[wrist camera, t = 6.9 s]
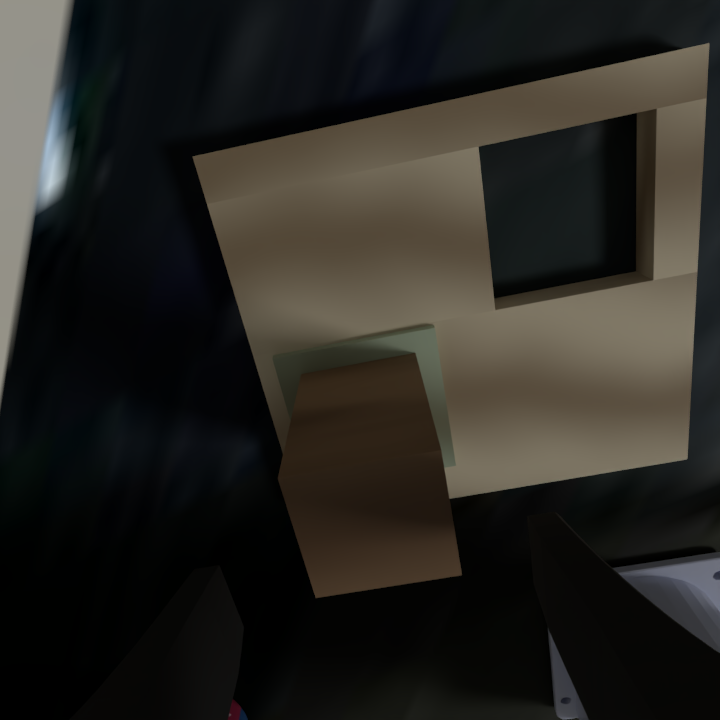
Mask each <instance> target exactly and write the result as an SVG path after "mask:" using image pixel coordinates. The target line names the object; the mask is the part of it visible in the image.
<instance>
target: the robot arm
mask: <svg viewBox="0 0 720 720" xmlns="http://www.w3.org/2000/svg"><path fill="white" fill-rule="evenodd" d="M527 521H528V531H529V542H530V552H531V563H532V573H533V584H534V587H535V590H536V593H537V596H538V599H539V603H540V606H541V609H542V612H543V615H544V618H545V621H546V624H547V627H548V636H549V648H550V660H551V672H552V684H553V696H554V708H555V711H556V714H557V716H558V717H559V718H561V719H572V718H579V720H720V552H715V553H708V554H701V555H695V556H688V557H682V558H675V559H669V560H662V561H656V562H649V563H643V564H636V565H629V566H623V567H616V568H612V567H611V566H610V565H609V564H607V563H606V562H605V561H604V560H603V559H602V558H601V557H600V556H599V555H598V554H597V553H596V552H595V551H594V550H593V549H592V548H591V547H590V546H589V545H588V544H587V543H586V542H585V541H584V540H583V539H582V538H581V537H580V536H579V535H578V534H577V533H576V532H575V531H574V530H573V529H572V528H571V527H570V526H569V525H568V524H567V523H566V522H565V521H564V520H563V519H562V517H561V516H560V515H558V514H557V513H555V512H551V513H544V514H538V515H532V516H527ZM243 631H244V626H243V624H242V621H241V619H240V616H239V613H238V611H237V608H236V606H235V603H234V601H233V598H232V596H231V593H230V591H229V588H228V586H227V583H226V581H225V578H224V576H223V573H222V571H221V568H220V565H217V566H211V567H204V568H198V569H194V571H193V572H192V573H191V574H190V575H189V577H188V578H187V579H186V581H185V582H184V583H183V584H182V586H181V587H180V588H179V590H178V591H177V592H176V594H175V595H174V596H173V597H172V599H171V600H170V601H169V603H168V604H167V605H166V607H165V608H164V609H163V610H162V612H161V613H160V614H159V616H158V617H157V618H156V619H155V621H154V622H153V623H152V625H151V626H150V627H149V628H148V630H147V631H146V632H145V633H144V635H143V636H142V637H141V638H140V640H139V641H138V642H137V644H136V645H135V646H134V647H133V648H132V650H131V651H130V652H129V653H128V654H127V656H126V657H125V658H124V659H123V660H122V661H121V663H120V664H119V665H118V666H117V667H116V668H115V670H114V671H113V672H112V673H111V674H110V675H109V677H108V678H107V679H106V680H105V681H104V682H103V684H102V685H101V686H100V687H99V688H98V690H97V691H96V692H95V693H94V694H93V695H92V696H91V697H90V698H89V699H88V701H87V702H86V703H85V704H84V705H83V706H82V707H81V708H80V709H79V710H78V711H77V712H76V713H75V714H74V715H73V716H72V717H71V718H70V719H69V720H228V717H229V712H230V708H231V704H232V700H233V695H234V691H235V687H236V682H237V678H238V673H239V666H240V658H241V650H242V641H243Z"/></svg>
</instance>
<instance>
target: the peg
mask: <svg viewBox="0 0 720 720" xmlns="http://www.w3.org/2000/svg"><path fill="white" fill-rule="evenodd" d="M278 481H279V484H280V487H281V490H282V493H283V497H284V500H285V503H286V506H287V509H288V512H289V515H290V519H291V522H292V525H293V528H294V531H295V534H296V537H297V541H298V544H299V547H300V550H301V553H302V556H303V559H304V563H305V566H306V569H307V572H308V575H309V578H310V582H311V585H312V588H313V591H314V594H315V597H316V598H319V597H326V596H332V595H339V594H345V593H351V592H358V591H364V590H371V589H377V588H383V587H390V586H396V585H403V584H409V583H415V582H422V581H428V580H435V579H441V578H447V577H454V576H460V575H462V572H461V566H460V560H459V554H458V548H457V542H456V536H455V529H454V523H453V517H452V511H451V505H450V499H449V493H448V487H447V481H446V475H445V469H444V463H443V457H442V451H441V447H440V443H439V439H438V436H437V432H436V428H435V424H434V421H433V417H432V413H431V409H430V406H429V402H428V398H427V394H426V391H425V387H424V383H423V379H422V376H421V372H420V368H419V364H418V361H417V357H416V353H411V354H406V355H401V356H395V357H390V358H385V359H379V360H374V361H369V362H363V363H358V364H353V365H347V366H342V367H337V368H331V369H326V370H321V371H315V372H310V373H305V374H301V377H300V381H299V386H298V390H297V395H296V399H295V404H294V408H293V413H292V417H291V422H290V426H289V430H288V435H287V439H286V444H285V448H284V453H283V457H282V462H281V466H280V471H279V475H278Z"/></svg>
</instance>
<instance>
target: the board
mask: <svg viewBox="0 0 720 720" xmlns="http://www.w3.org/2000/svg"><path fill="white" fill-rule="evenodd" d="M708 58H709V43H708V44H703V45H699V46H694V47H690V48H685V49H680V50H676V51H671V52H667V53H662V54H658V55H653V56H649V57H644V58H639V59H635V60H630V61H626V62H621V63H617V64H612V65H608V66H603V67H598V68H594V69H589V70H585V71H580V72H576V73H571V74H567V75H562V76H557V77H553V78H548V79H544V80H539V81H535V82H530V83H525V84H521V85H516V86H512V87H507V88H503V89H498V90H494V91H489V92H484V93H480V94H475V95H471V96H466V97H462V98H457V99H453V100H448V101H443V102H439V103H434V104H430V105H425V106H421V107H416V108H412V109H407V110H402V111H398V112H393V113H389V114H384V115H380V116H375V117H370V118H366V119H361V120H357V121H352V122H348V123H343V124H339V125H334V126H329V127H325V128H320V129H316V130H311V131H307V132H302V133H298V134H293V135H288V136H284V137H279V138H275V139H270V140H266V141H261V142H256V143H252V144H247V145H243V146H238V147H234V148H229V149H225V150H220V151H215V152H211V153H206V154H202V155H197V156H193V160H194V163H195V166H196V170H197V173H198V176H199V179H200V183H201V186H202V189H203V193H204V196H205V199H206V203H207V206H208V209H209V212H210V216H211V219H212V222H213V226H214V229H215V232H216V235H217V239H218V242H219V245H220V249H221V252H222V255H223V258H224V262H225V265H226V268H227V272H228V275H229V278H230V281H231V285H232V288H233V291H234V295H235V298H236V301H237V304H238V308H239V311H240V314H241V318H242V321H243V324H244V327H245V331H246V334H247V337H248V341H249V344H250V347H251V350H252V354H253V357H254V360H255V364H256V367H257V370H258V373H259V377H260V380H261V383H262V387H263V390H264V393H265V396H266V400H267V403H268V406H269V410H270V413H271V416H272V419H273V423H274V426H275V429H276V433H277V436H278V439H279V442H280V446H281V449H282V452H283V453H284V448H285V444H286V439H287V435H288V430H289V426H290V422H291V417H292V413H293V408H294V404H295V399H296V395H297V390H298V386H299V381H300V377H301V374H305V373H310V372H315V371H321V370H326V369H331V368H337V367H342V366H347V365H353V364H358V363H363V362H369V361H374V360H379V359H385V358H390V357H395V356H401V355H406V354H411V353H416V357H417V361H418V364H419V368H420V372H421V376H422V379H423V383H424V387H425V391H426V394H427V398H428V402H429V406H430V409H431V413H432V417H433V421H434V424H435V428H436V432H437V436H438V439H439V443H440V447H441V451H442V457H443V463H444V469H445V475H446V481H447V487H448V493H449V499H451V498H457V497H463V496H469V495H475V494H481V493H487V492H493V491H499V490H505V489H511V488H517V487H523V486H529V485H535V484H541V483H547V482H553V481H559V480H565V479H571V478H577V477H584V476H590V475H596V474H602V473H608V472H614V471H620V470H626V469H632V468H638V467H644V466H650V465H656V464H662V463H668V462H674V461H680V460H686V459H687V455H688V437H689V418H690V399H691V380H692V361H693V342H694V323H695V304H696V285H697V266H698V247H699V229H700V210H701V191H702V172H703V153H704V134H705V115H706V96H707V77H708ZM634 113H637V166H636V271H635V272H630V273H624V274H619V275H614V276H609V277H604V278H598V279H593V280H588V281H583V282H577V283H572V284H567V285H562V286H557V287H551V288H546V289H541V290H536V291H530V292H525V293H520V294H515V295H510V296H504V297H499V298H494V293H493V283H492V274H491V264H490V254H489V245H488V235H487V225H486V216H485V206H484V196H483V187H482V177H481V167H480V158H479V148H478V146H483V145H488V144H493V143H497V142H502V141H507V140H511V139H516V138H521V137H526V136H530V135H535V134H540V133H544V132H549V131H554V130H559V129H563V128H568V127H573V126H577V125H582V124H587V123H592V122H596V121H601V120H606V119H610V118H615V117H620V116H625V115H629V114H634Z"/></svg>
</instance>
